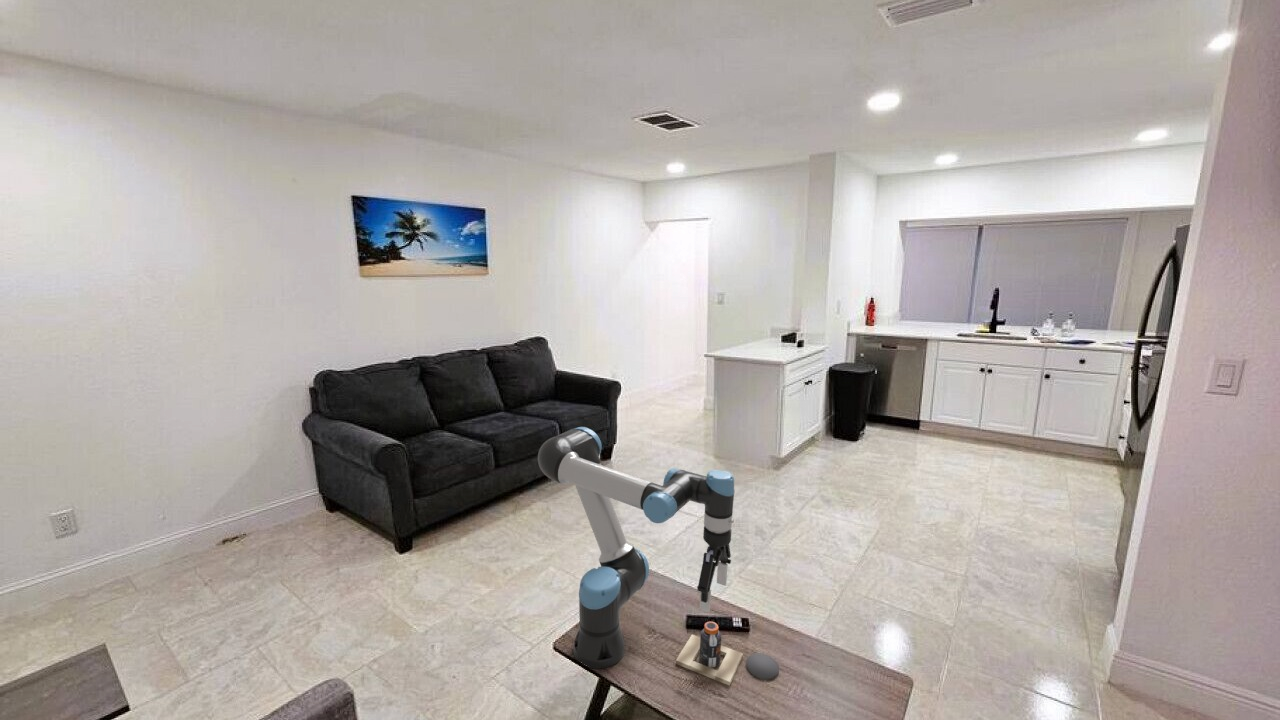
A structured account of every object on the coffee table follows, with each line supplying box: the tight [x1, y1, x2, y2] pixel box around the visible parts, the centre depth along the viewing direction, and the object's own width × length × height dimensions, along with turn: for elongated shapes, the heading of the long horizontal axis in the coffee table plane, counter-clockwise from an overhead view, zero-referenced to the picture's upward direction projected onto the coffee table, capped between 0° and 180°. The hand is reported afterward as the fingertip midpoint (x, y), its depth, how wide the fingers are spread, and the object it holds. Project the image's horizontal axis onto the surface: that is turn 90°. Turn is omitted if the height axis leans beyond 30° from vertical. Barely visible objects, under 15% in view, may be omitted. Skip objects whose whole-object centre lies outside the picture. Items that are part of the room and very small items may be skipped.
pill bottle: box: [699, 621, 722, 668], centre depth 148 cm, size 6×6×11 cm
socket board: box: [675, 634, 744, 687], centre depth 149 cm, size 16×12×1 cm
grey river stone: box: [745, 652, 780, 681], centre depth 147 cm, size 9×9×1 cm
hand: (713, 596), depth 146 cm, fingers open, 13 cm apart
